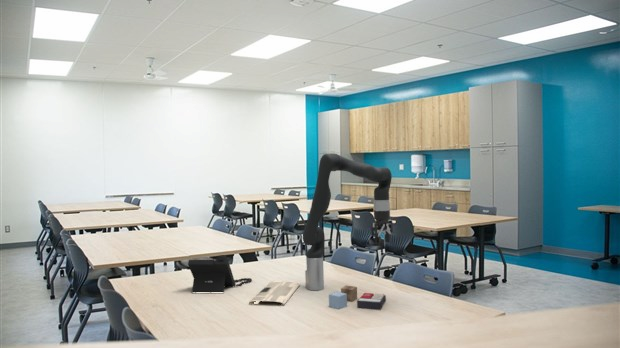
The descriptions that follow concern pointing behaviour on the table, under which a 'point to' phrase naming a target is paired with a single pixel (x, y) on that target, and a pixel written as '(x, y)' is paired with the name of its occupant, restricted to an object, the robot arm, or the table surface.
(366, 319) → the table surface
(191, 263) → the office phone
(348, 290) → the walnut block
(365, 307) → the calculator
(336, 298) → the slate block
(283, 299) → the newspaper
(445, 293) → the table surface
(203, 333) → the table surface
